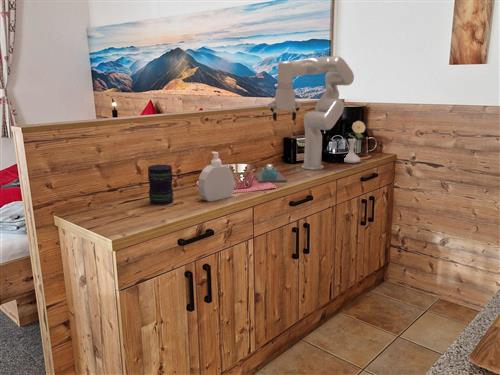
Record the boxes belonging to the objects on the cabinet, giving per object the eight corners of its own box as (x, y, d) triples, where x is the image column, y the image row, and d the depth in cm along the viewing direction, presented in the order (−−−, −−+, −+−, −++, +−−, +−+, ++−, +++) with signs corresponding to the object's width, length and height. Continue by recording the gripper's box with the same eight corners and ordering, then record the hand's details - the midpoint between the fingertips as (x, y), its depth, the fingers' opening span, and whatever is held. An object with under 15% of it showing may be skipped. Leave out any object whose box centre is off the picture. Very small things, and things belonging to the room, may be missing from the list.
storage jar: (147, 200, 196) (145, 165, 192) (170, 198, 199) (169, 163, 196) (151, 206, 187) (149, 170, 183) (175, 204, 190) (174, 168, 187)
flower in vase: (340, 163, 275) (342, 121, 269) (342, 160, 285) (344, 119, 279) (362, 165, 271) (365, 122, 265) (363, 161, 282) (366, 120, 276)
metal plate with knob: (252, 174, 246) (252, 161, 244) (278, 173, 248) (279, 160, 246) (259, 183, 227) (259, 168, 225) (287, 182, 229) (287, 168, 227)
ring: (261, 174, 240) (261, 167, 239) (274, 174, 241) (274, 166, 240) (263, 177, 233) (263, 170, 232) (277, 177, 234) (277, 169, 233)
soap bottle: (227, 194, 206) (227, 149, 201) (234, 196, 202) (234, 151, 197) (197, 200, 196) (196, 153, 191) (204, 202, 192) (203, 155, 187)
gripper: (269, 86, 230) (269, 121, 234) (303, 86, 233) (302, 121, 237) (266, 86, 238) (266, 120, 242) (299, 86, 240) (298, 119, 244)
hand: (284, 120), depth 239 cm, fingers open, 9 cm apart
